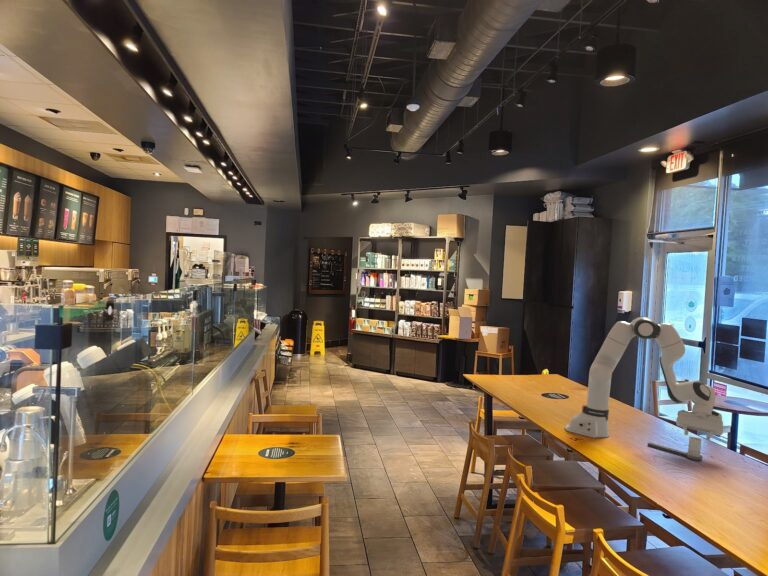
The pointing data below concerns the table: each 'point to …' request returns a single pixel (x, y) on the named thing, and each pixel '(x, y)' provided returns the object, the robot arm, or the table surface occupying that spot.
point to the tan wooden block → (694, 446)
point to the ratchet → (675, 451)
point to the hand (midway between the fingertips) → (696, 436)
